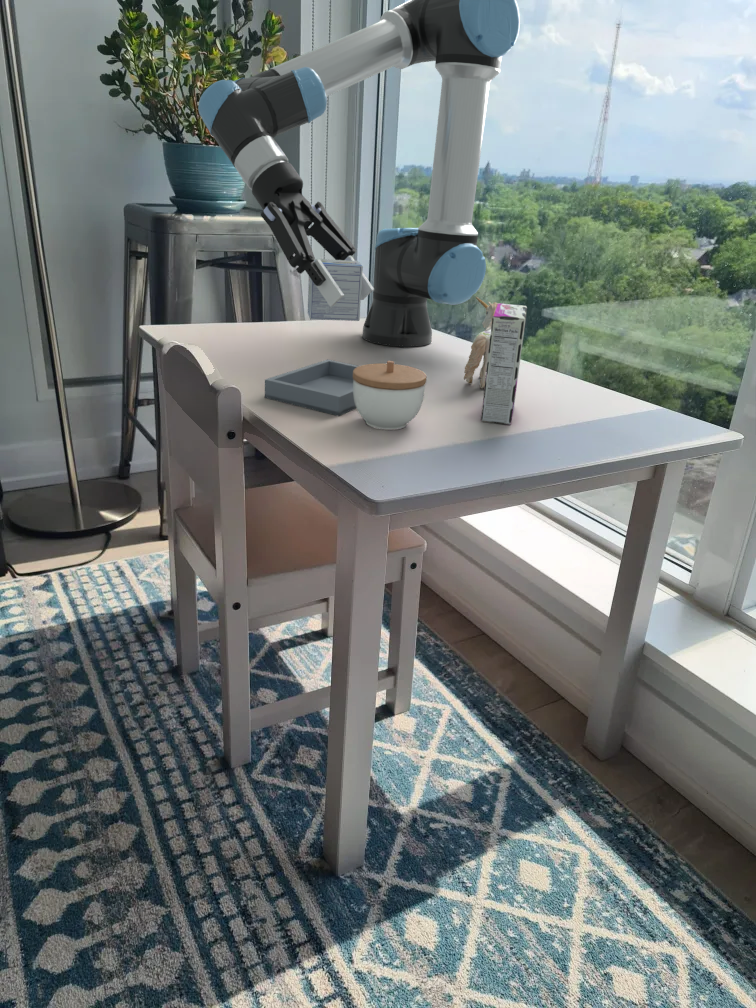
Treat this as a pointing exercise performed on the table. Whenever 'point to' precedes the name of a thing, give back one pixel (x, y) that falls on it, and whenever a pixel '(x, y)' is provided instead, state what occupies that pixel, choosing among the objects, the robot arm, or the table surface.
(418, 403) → the lidded jar
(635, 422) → the table surface
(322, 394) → the slate tray
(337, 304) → the medicine box
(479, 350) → the unicorn figurine
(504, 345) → the candy bar box
